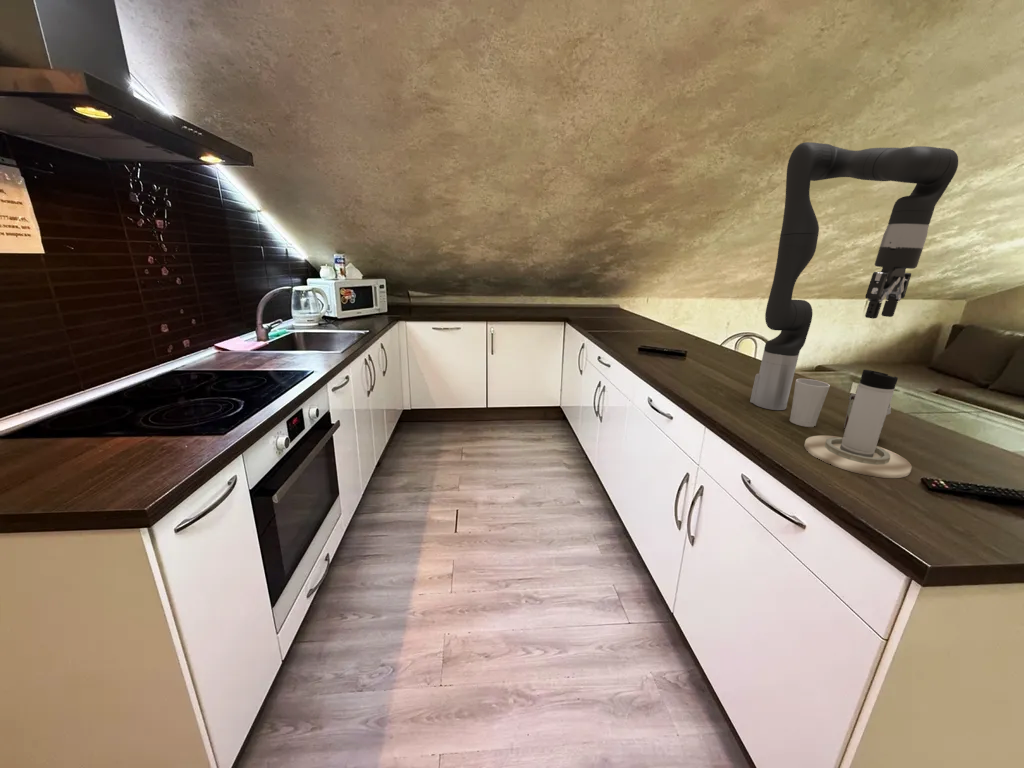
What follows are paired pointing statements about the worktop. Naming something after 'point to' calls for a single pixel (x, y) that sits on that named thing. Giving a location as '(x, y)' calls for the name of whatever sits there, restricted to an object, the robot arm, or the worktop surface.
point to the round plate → (858, 458)
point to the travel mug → (868, 413)
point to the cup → (808, 401)
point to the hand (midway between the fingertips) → (878, 317)
